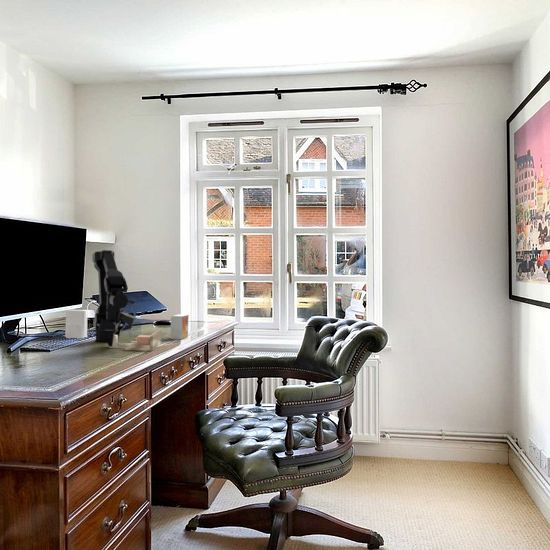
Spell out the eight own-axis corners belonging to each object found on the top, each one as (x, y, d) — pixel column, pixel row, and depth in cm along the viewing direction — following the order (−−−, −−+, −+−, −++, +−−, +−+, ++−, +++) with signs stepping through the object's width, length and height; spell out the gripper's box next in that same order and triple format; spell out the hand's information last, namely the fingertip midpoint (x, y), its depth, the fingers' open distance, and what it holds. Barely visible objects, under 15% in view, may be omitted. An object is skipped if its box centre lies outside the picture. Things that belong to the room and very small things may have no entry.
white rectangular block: (90, 336, 231) (91, 309, 230) (81, 339, 222) (81, 311, 221) (71, 335, 232) (72, 308, 231) (61, 338, 223) (61, 310, 222)
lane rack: (125, 350, 199) (125, 334, 199) (135, 342, 216) (136, 328, 216) (152, 350, 200) (153, 335, 199) (160, 343, 217) (161, 329, 217)
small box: (181, 339, 229) (182, 316, 229) (170, 338, 230) (170, 315, 230) (188, 337, 237) (188, 314, 236) (176, 336, 238) (177, 314, 237)
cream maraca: (107, 348, 201) (107, 336, 201) (110, 346, 206) (111, 334, 206) (149, 349, 202) (149, 337, 201) (151, 347, 207) (152, 335, 206)
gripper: (128, 309, 194) (127, 349, 194) (139, 304, 213) (138, 341, 213) (99, 308, 194) (98, 348, 194) (113, 303, 212) (112, 341, 213)
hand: (113, 345), depth 203 cm, fingers open, 7 cm apart
